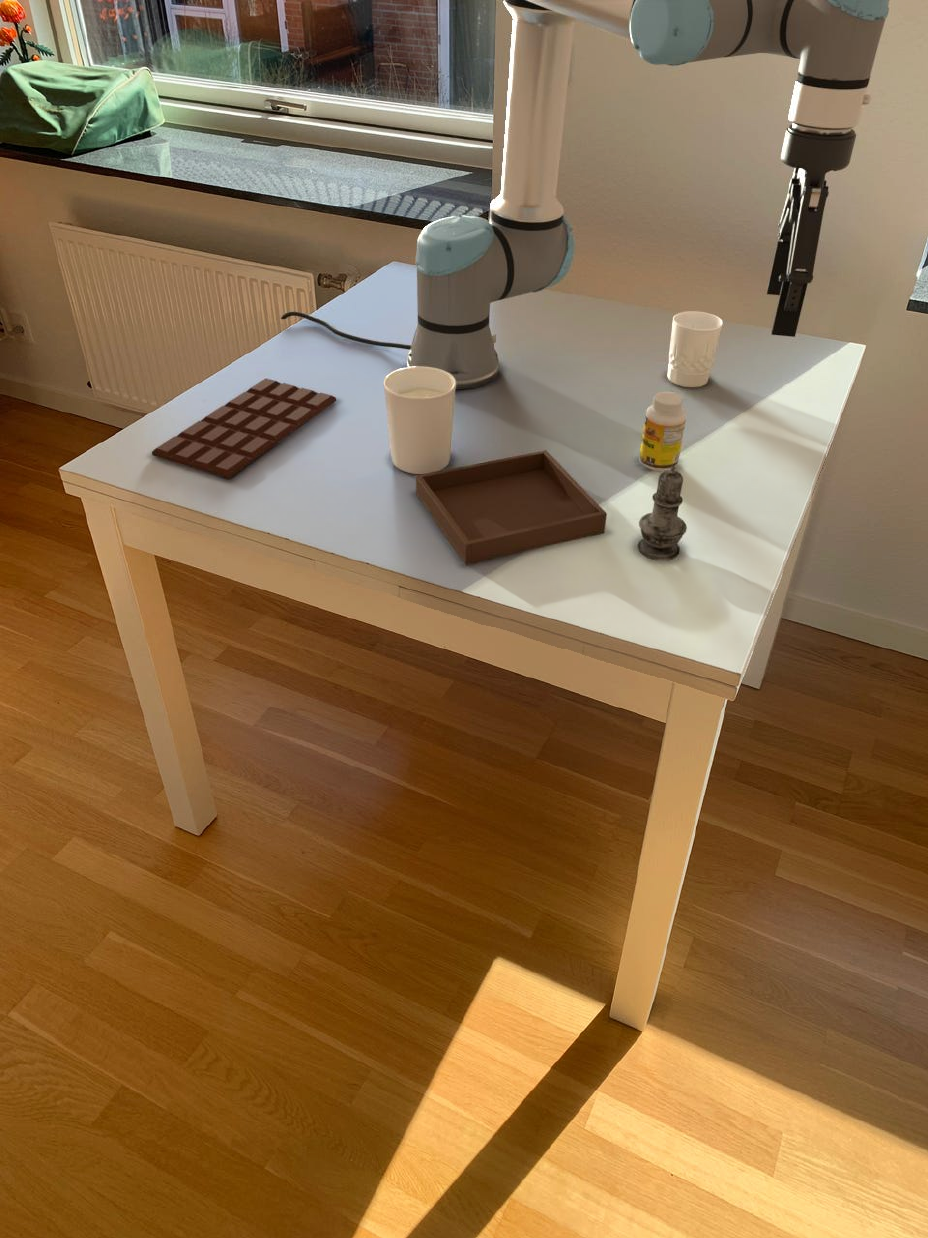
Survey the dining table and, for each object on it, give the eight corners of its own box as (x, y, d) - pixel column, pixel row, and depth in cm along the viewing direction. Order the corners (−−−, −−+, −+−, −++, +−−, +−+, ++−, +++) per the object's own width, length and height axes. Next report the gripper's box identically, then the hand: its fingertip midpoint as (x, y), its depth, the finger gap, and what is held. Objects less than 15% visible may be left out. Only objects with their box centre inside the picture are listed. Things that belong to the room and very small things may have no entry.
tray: (465, 564, 118) (465, 544, 116) (415, 494, 130) (415, 475, 129) (604, 532, 124) (607, 513, 122) (544, 468, 136) (546, 449, 135)
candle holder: (404, 483, 132) (402, 403, 125) (375, 451, 139) (372, 374, 132) (467, 467, 136) (469, 389, 129) (436, 437, 143) (436, 361, 135)
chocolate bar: (265, 382, 156) (265, 376, 155) (336, 400, 151) (335, 394, 151) (152, 455, 137) (150, 448, 136) (229, 478, 132) (228, 472, 132)
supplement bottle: (633, 455, 140) (642, 389, 133) (669, 452, 141) (680, 387, 134) (645, 474, 136) (656, 408, 129) (683, 471, 136) (695, 405, 130)
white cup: (658, 369, 163) (667, 311, 156) (704, 368, 163) (715, 310, 157) (670, 389, 157) (680, 330, 150) (717, 388, 157) (729, 329, 151)
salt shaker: (681, 565, 119) (698, 480, 111) (633, 558, 120) (647, 474, 112) (682, 538, 123) (699, 455, 116) (636, 532, 124) (649, 450, 117)
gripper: (871, 156, 97) (819, 356, 110) (845, 105, 116) (803, 281, 129) (794, 151, 98) (752, 350, 111) (781, 101, 117) (746, 276, 130)
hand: (779, 313), depth 120 cm, fingers open, 13 cm apart
